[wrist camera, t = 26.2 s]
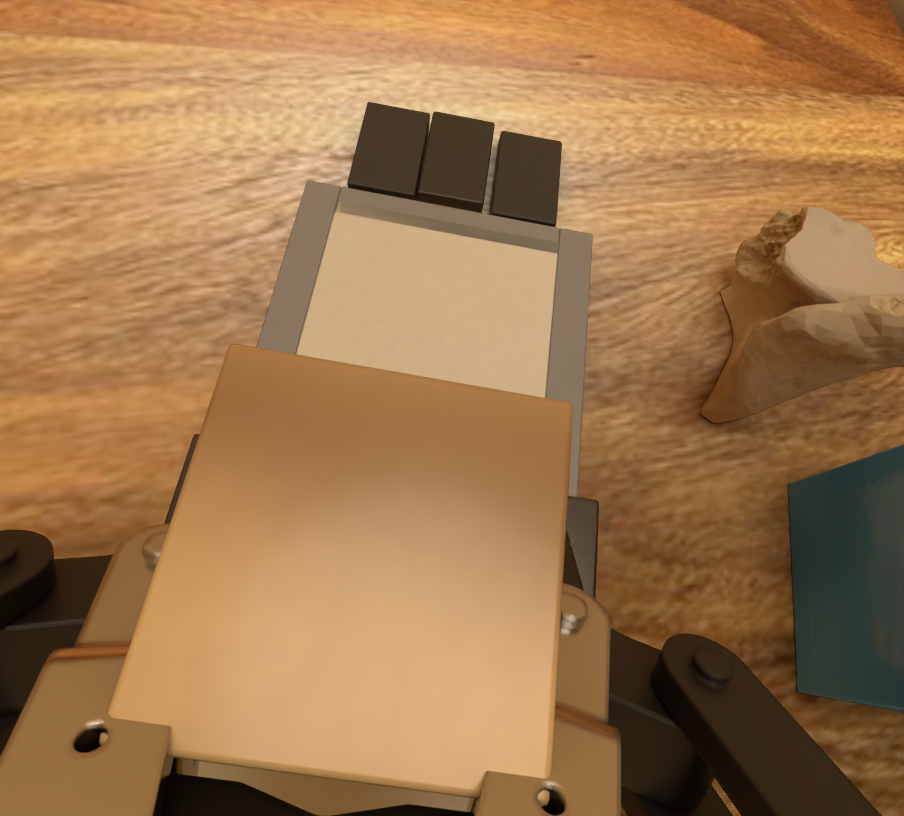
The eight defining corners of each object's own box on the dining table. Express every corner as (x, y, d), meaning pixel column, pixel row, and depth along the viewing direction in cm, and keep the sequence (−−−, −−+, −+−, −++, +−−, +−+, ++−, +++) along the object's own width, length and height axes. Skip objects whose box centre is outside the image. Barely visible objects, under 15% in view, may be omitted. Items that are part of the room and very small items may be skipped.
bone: (839, 195, 21) (1253, 106, 12) (850, 362, 23) (1225, 407, 13) (630, 243, 20) (892, 188, 10) (654, 415, 21) (905, 507, 12)
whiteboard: (539, 928, 14) (551, 950, 13) (110, 874, 13) (90, 893, 12) (584, 250, 21) (593, 233, 20) (310, 199, 20) (306, 179, 20)
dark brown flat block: (550, 238, 21) (556, 224, 20) (487, 226, 21) (491, 212, 20) (556, 156, 23) (562, 141, 22) (497, 146, 22) (501, 129, 22)
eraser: (555, 758, 14) (889, 999, 5) (147, 700, 13) (-363, 844, 4) (569, 518, 16) (813, 368, 7) (220, 461, 16) (-8, 218, 7)
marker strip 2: (480, 218, 21) (483, 203, 20) (416, 207, 21) (417, 191, 20) (491, 138, 22) (495, 122, 22) (432, 127, 22) (433, 110, 22)
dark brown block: (413, 210, 21) (414, 195, 20) (348, 198, 21) (347, 182, 20) (428, 129, 22) (430, 112, 22) (368, 118, 22) (367, 100, 21)
